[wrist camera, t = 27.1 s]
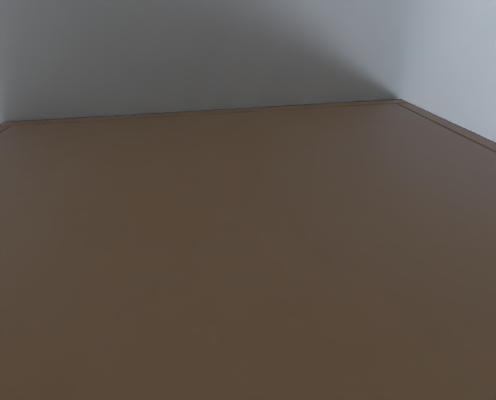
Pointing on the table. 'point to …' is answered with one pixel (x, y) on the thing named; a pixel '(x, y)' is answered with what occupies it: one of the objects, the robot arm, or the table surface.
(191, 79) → the table surface
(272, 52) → the table surface
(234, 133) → the carton
